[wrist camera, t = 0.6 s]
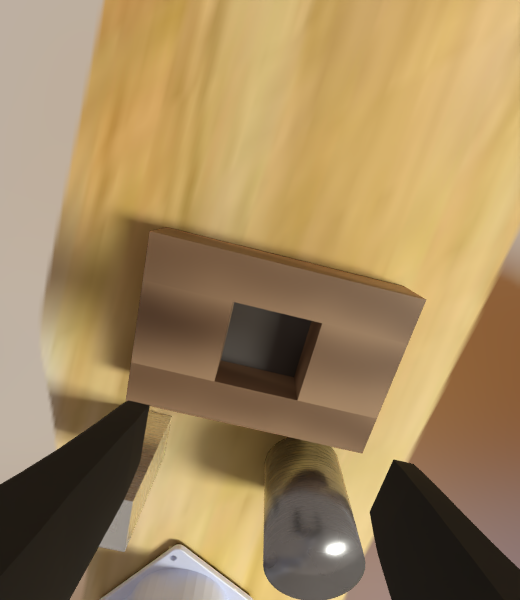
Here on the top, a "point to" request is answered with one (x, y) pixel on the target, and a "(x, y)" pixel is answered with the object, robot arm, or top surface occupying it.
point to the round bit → (309, 523)
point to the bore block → (266, 340)
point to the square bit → (139, 483)
